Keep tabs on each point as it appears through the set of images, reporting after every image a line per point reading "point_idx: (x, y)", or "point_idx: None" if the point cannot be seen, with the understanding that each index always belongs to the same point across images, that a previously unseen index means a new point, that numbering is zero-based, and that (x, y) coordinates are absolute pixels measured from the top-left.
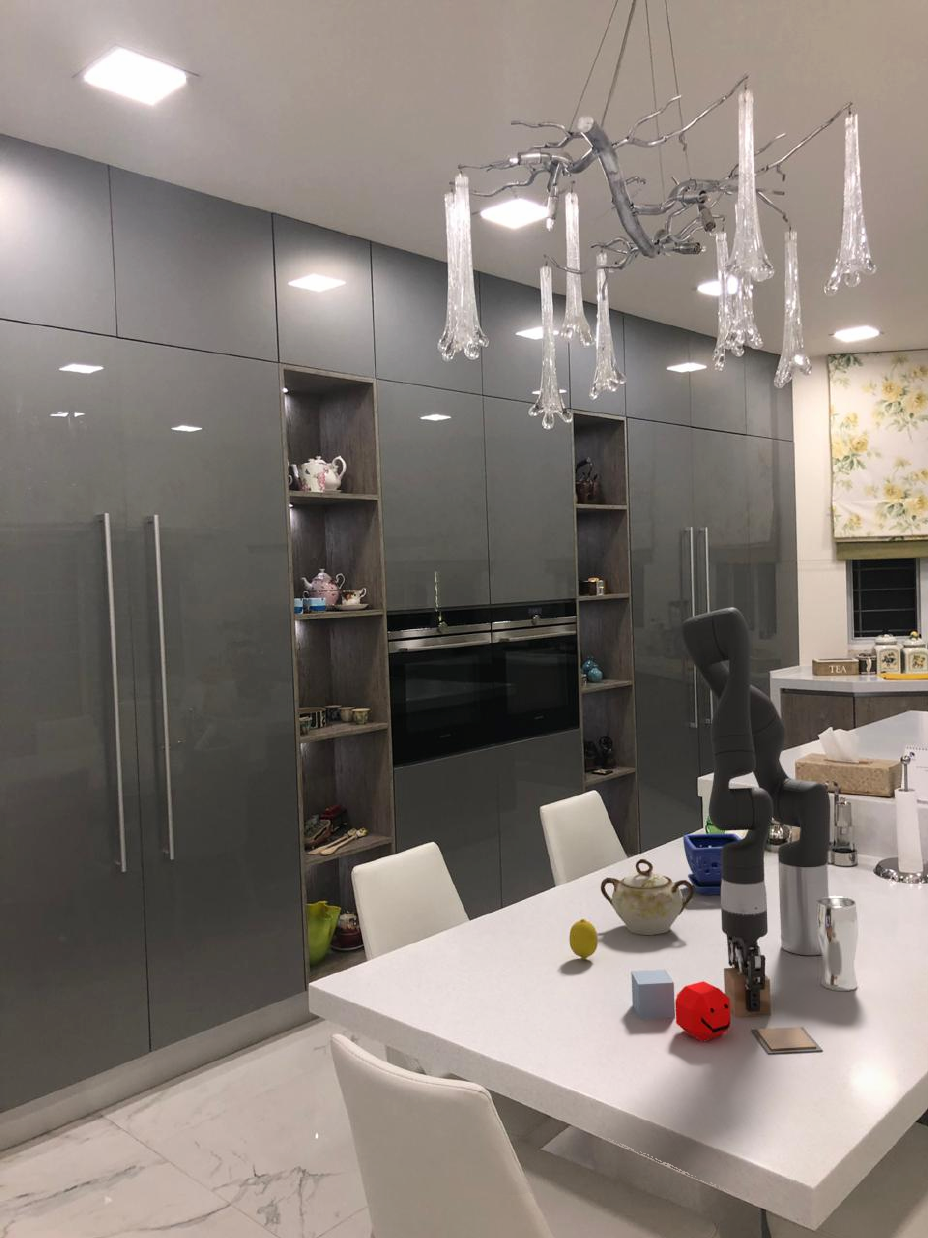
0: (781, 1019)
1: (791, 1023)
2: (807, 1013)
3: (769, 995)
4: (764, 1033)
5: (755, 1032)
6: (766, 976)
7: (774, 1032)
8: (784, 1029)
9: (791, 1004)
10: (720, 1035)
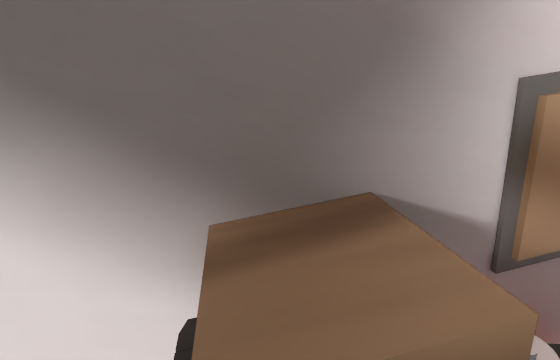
0: (417, 154)
1: (461, 117)
2: (367, 2)
3: (432, 241)
4: (553, 240)
5: (517, 262)
6: (470, 341)
7: (557, 206)
8: (546, 165)
9: (244, 67)
10: None
